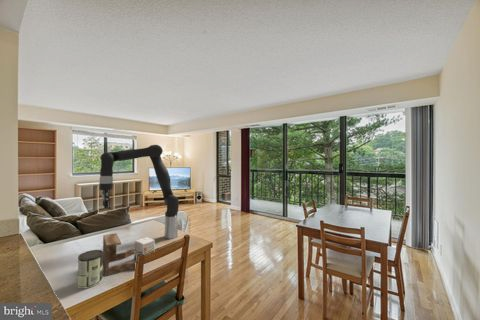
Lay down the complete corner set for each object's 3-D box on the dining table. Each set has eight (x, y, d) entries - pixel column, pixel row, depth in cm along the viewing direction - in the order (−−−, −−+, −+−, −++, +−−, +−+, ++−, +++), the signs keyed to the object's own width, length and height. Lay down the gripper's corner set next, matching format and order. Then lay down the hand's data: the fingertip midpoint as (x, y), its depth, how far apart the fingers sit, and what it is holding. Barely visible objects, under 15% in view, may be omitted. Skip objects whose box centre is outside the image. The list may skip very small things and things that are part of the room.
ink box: (142, 263, 124) (142, 244, 124) (133, 259, 129) (134, 240, 129) (154, 258, 132) (155, 239, 132) (146, 254, 136) (147, 236, 136)
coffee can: (90, 275, 110) (90, 248, 110) (107, 277, 109) (108, 250, 109) (71, 287, 100) (72, 257, 100) (90, 290, 99) (91, 260, 99)
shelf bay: (133, 253, 137) (134, 228, 137) (142, 268, 119) (143, 240, 119) (101, 260, 127) (102, 233, 127) (106, 278, 108) (107, 247, 108)
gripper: (114, 183, 136) (113, 208, 137) (111, 181, 148) (110, 204, 148) (100, 183, 132) (99, 209, 132) (98, 181, 143) (97, 205, 143)
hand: (105, 206), depth 140 cm, fingers open, 8 cm apart
